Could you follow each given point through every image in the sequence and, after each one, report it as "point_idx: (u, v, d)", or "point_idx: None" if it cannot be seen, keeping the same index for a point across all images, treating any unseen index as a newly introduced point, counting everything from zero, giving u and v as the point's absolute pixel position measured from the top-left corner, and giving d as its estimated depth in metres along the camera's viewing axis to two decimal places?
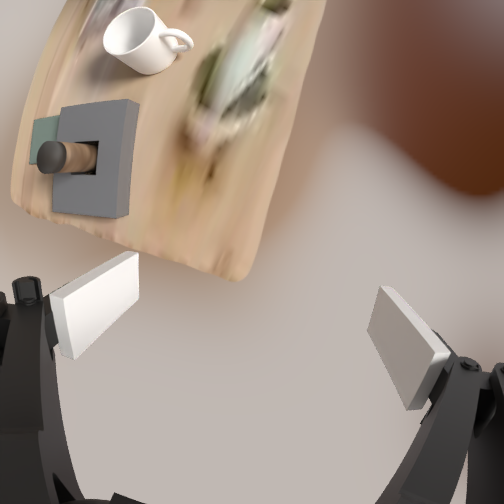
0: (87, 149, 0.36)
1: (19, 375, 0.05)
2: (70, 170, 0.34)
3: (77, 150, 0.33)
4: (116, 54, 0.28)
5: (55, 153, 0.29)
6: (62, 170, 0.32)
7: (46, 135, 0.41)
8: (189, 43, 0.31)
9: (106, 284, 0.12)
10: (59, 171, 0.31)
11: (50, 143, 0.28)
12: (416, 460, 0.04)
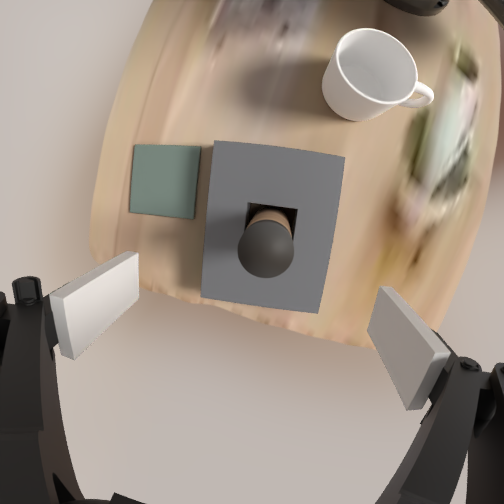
0: (288, 223, 0.29)
1: (19, 375, 0.05)
2: None
3: (290, 231, 0.27)
4: (368, 98, 0.21)
5: (289, 249, 0.22)
6: None
7: (165, 173, 0.34)
8: None
9: (106, 284, 0.12)
10: None
11: (275, 229, 0.22)
12: (416, 460, 0.04)
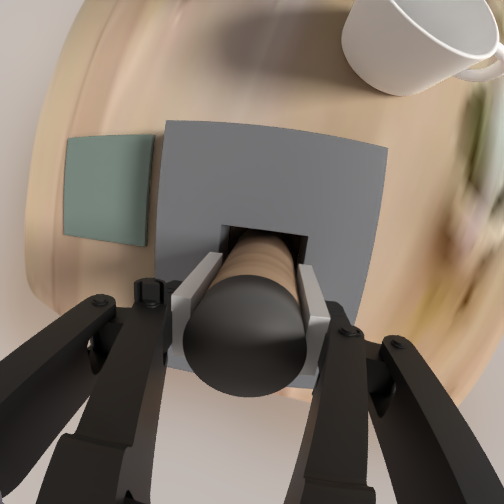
0: (292, 265, 0.16)
1: (121, 381, 0.06)
2: None
3: (296, 286, 0.14)
4: (438, 42, 0.09)
5: (296, 349, 0.09)
6: None
7: (104, 178, 0.21)
8: (495, 78, 0.12)
9: (208, 283, 0.13)
10: None
11: (265, 308, 0.09)
12: (312, 439, 0.05)
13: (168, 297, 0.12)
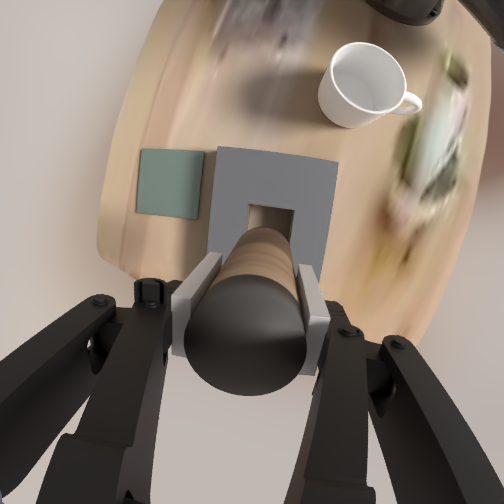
0: (292, 264, 0.17)
1: (121, 381, 0.06)
2: None
3: (296, 285, 0.14)
4: (359, 108, 0.24)
5: (296, 348, 0.10)
6: None
7: (170, 176, 0.37)
8: None
9: (208, 283, 0.13)
10: None
11: (265, 307, 0.09)
12: (312, 439, 0.05)
13: (168, 297, 0.12)
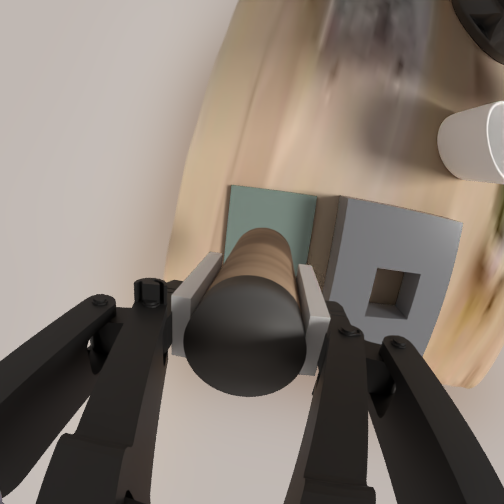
0: (292, 265, 0.17)
1: (121, 381, 0.06)
2: None
3: (296, 286, 0.14)
4: None
5: (295, 349, 0.10)
6: None
7: (272, 224, 0.31)
8: None
9: (208, 283, 0.13)
10: None
11: (265, 308, 0.09)
12: (312, 439, 0.05)
13: (168, 297, 0.12)
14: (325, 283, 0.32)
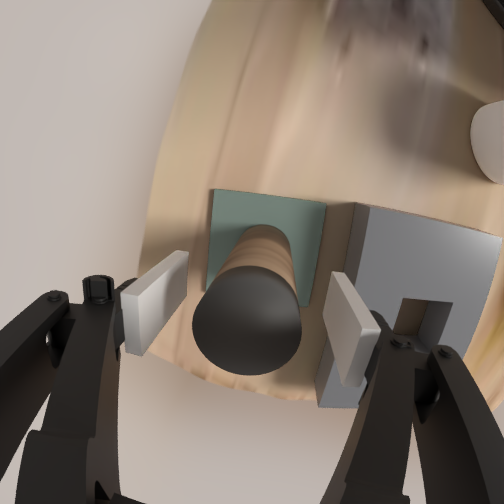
0: (290, 258, 0.18)
1: (77, 376, 0.05)
2: None
3: (293, 277, 0.15)
4: None
5: (292, 330, 0.11)
6: None
7: None
8: None
9: (167, 282, 0.13)
10: None
11: (265, 293, 0.11)
12: (357, 445, 0.05)
13: None
14: None
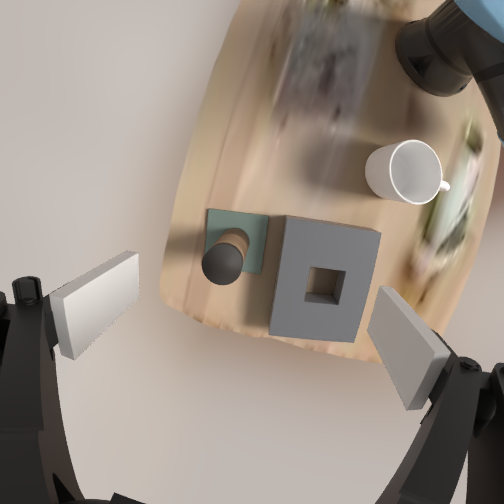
0: (245, 243, 0.38)
1: (19, 375, 0.05)
2: None
3: (243, 249, 0.36)
4: (407, 201, 0.32)
5: (238, 264, 0.31)
6: None
7: None
8: None
9: (106, 284, 0.12)
10: None
11: (228, 250, 0.31)
12: (416, 460, 0.04)
13: None
14: (276, 278, 0.45)
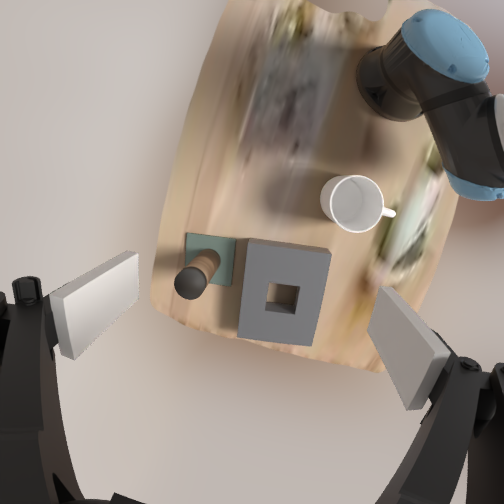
0: (212, 264, 0.47)
1: (19, 375, 0.05)
2: None
3: (209, 270, 0.44)
4: (347, 230, 0.40)
5: (200, 284, 0.40)
6: None
7: None
8: None
9: (106, 284, 0.12)
10: None
11: (192, 273, 0.40)
12: (416, 460, 0.04)
13: None
14: None
